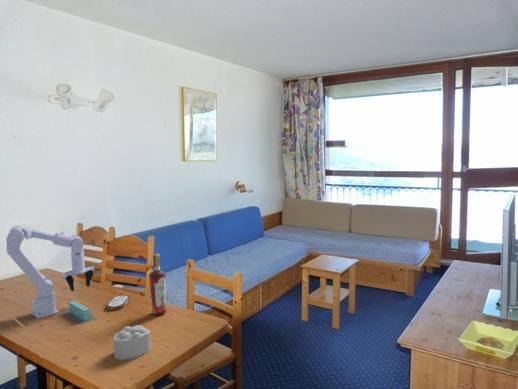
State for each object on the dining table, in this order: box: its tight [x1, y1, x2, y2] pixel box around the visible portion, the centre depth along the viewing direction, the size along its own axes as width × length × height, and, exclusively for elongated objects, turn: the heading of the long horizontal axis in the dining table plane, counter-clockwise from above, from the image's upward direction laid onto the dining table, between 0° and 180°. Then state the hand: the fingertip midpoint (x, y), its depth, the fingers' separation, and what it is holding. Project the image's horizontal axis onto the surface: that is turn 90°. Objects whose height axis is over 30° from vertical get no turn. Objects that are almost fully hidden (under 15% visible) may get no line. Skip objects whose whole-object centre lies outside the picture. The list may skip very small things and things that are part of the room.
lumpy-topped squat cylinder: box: [112, 324, 152, 361], centre depth 146 cm, size 10×13×9 cm
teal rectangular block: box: [68, 300, 91, 321], centre depth 178 cm, size 16×2×5 cm, turn 48°
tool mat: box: [61, 309, 98, 325], centre depth 179 cm, size 8×20×1 cm, turn 48°
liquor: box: [148, 253, 167, 316], centre depth 179 cm, size 7×7×28 cm
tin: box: [106, 295, 131, 312], centre depth 191 cm, size 15×3×8 cm
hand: (80, 288), depth 190 cm, fingers open, 7 cm apart
